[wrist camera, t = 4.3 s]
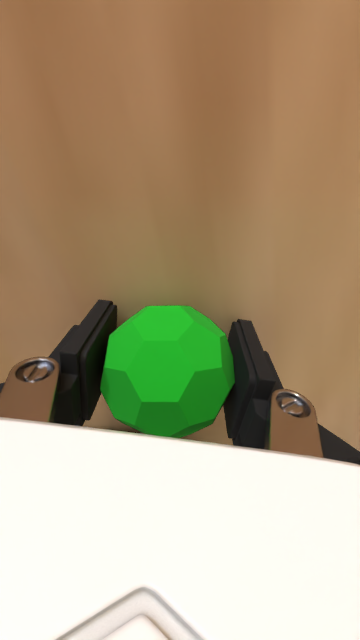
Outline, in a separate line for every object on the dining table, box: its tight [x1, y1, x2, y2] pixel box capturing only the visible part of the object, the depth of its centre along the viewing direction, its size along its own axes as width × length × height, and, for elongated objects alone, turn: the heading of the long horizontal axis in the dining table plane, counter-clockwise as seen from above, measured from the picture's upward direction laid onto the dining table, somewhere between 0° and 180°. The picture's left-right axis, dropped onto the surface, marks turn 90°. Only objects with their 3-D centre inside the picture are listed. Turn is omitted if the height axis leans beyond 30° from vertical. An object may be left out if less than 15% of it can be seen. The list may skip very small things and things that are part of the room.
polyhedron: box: [100, 306, 235, 438], centre depth 10 cm, size 5×5×5 cm
